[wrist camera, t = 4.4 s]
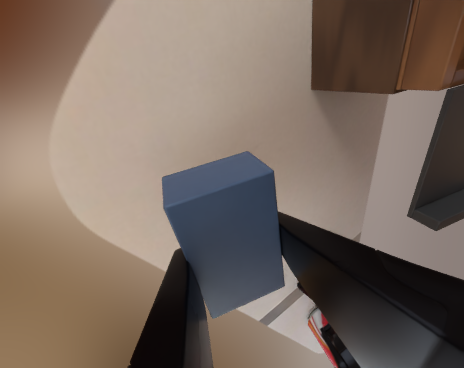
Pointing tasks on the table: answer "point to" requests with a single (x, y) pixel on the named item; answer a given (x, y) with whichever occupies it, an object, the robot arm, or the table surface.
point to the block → (227, 229)
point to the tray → (434, 46)
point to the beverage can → (315, 324)
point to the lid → (443, 168)
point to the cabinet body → (359, 44)
